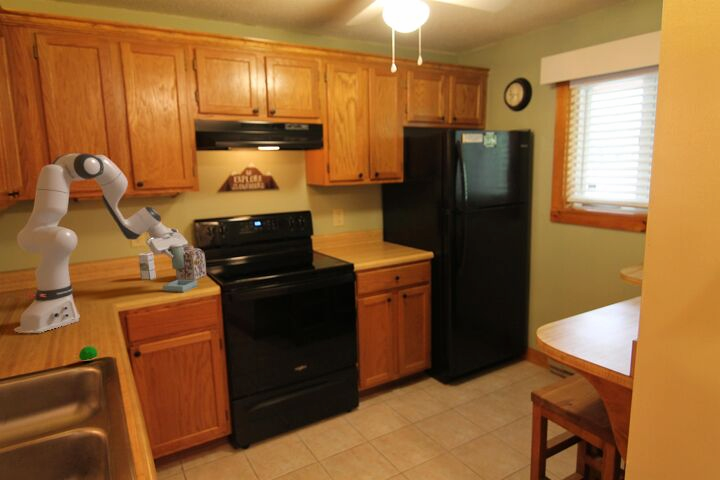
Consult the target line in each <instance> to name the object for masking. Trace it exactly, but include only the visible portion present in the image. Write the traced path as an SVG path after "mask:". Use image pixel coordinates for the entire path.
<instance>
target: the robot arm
mask: <svg viewBox="0 0 720 480" xmlns="http://www.w3.org/2000/svg"><path fill="white" fill-rule="evenodd" d="M37 178H38V179H37V182H36V189H35V197H34V204H33V208H32V212H31V215H30V216H29V218H28V221H27V223H26V224H25V226H24V227H23V228H22V229H21V230H20V231H19V232H18V234H17V236H16V243H17V245H18V247H19V248H20V249H22V250H23V251H25V252H29V253H31V254H40V262H39V265H38V266H37V267H36V269H35V271H34V274H35V280H36V285H37V289H36V292H33V291H32V292H28V294H27V297H28V298H30V299H31V298H34V300H33V301H32V303H31V304H29V306H28V307H27V308H26V309H25V310H24V311H23V312H22V313H21V315H20V325H19V326H17V327H14V329H13V332H14V331H15V332H14V333H16V332H18V333H17V334H19V333H39V334H42V333H41V332H43V333H45V332H44V331H47V330H50V331H52V330H51V329H53V330H55V329H54V328H56V329H59V328H62V327H64V326H68V325H71V323H72V324H74V323H77V322H80V318H81V315H80V313H79V311H78V309H77V307H76V304H75V303H76V302H75V301H74V297H73V293H74V290H73V284H72V283H71V278H70V270H69V265H70V264H69V263H70V258H71V255H72V253H73V251H74V250H75V249H76V248H77V246H78V236H77V234H76V232H75V231H73V230H72V229H69V228H66V227H63V226H58V225H59V223H60V221H61V220H62V218H63V217H64V216H66V214H68V207H69V200H70V199H69V198H70V190H71V189H70V188H71V187H70V186H71V184H72V182H73V181H84V180H92V179H93V180H94V181H95V182H96V183H97V184H98V186H99V187H100V188H101V190H102V191H101V192H102V195H101V199H102V202H103V204H104V206H105V208H106V209H107V210H108V213H109V214H110V215H111V217H112V219H113V220H114V222H115V223H116V224H117V227H118V229H119V232H120V233H121V235H122V236H123V237H124V238H125V239H127V240H137V239H138V238H140V237H141V236H142V234H144V233H147V234H148V235H149V237H150V238H147V239H146V241H145V243H146V244H147V245H148V247H149V249H150V251H151V253H153V255H156V256H158V255H163V254H164V255H165V256H167V257H169V258H170V259H172V258H174V254H173V253H172V254H171V248H170V245H174V244H182V249H184V248H185V247H186V246H188V243H189V242H188V240H187V239H186V238H185V236H183V235H182V234H181V233H179V230H178V229H177V228H169V227H166V225H165V224H163V222H162V217H161V216H160V214H159V213H158V212H157V211H156V209H155V208H154V207H151V206H145V207H142V208H141V209H140V210H137V212H135V213H134V214H132V215H131V216H130V217H128V218H126V219H125V218H124V216H123V214H122V213H121V211H120V210H119V207H118V205H119V202H120V200H121V198H122V197H123V196H124V194H125V193H126V191H127V189H128V185H129V183H128V178H127V176H125V174H124V173H123V171H122V170H121V169H120V168H119V167H118V166H117V165H116V163H115V162H113V161H112V160H111V159H109V158H108V157H107V156H106V155H104V154H96V155H95V154H94V155H93V154H90V153H87V152H85V153H84V152H83V153H69V154H68V153H67V154H62V155H59V156H58V157H57V158H55V159H54V160H53V162H52V163H51V164H46V165H44V166H42V168H41V170H40V172H39V175H38V177H37ZM184 254H185V252H184V251H183V255H184ZM61 326H62V327H61ZM58 327H59V328H58ZM47 332H48V331H47Z"/></svg>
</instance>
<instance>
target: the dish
mask: <svg viewBox="0 0 720 480" xmlns="http://www.w3.org/2000/svg"><path fill="white" fill-rule="evenodd" d="M198 286H199V285H198V279H197V280H177V279H175V280H174V281H171V282H168V283H165V284H163V285H162V291H163V292H167V293H169V292H170V293H185V292H188V291H190V290H193V289H195V288H196V287H197V288H198Z"/></svg>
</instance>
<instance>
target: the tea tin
mask: <svg viewBox="0 0 720 480" xmlns="http://www.w3.org/2000/svg"><path fill="white" fill-rule="evenodd" d="M170 248H171V251H170V253H171V254H172V253H173V254H174V258H171V264H172V265H171V266H172V269H173V270H176V269H181V268H184V258H183V249H184V248H183V249H182V244H174V245H170Z"/></svg>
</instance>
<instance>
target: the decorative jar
mask: <svg viewBox="0 0 720 480" xmlns="http://www.w3.org/2000/svg"><path fill="white" fill-rule="evenodd" d="M183 251H184V252H185V254H184V255H183V258H184V268H181V269H175V274H176V275H175V276H176V280H197V281H198V280H199V279H201V278H204V277H206V276H207V266H206V265H207V263H206V256H205V252H204V250H202V249H201V248H198V247H194V246H193V245H191V244H190V245H187V246H186V247H185V248H183Z"/></svg>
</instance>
